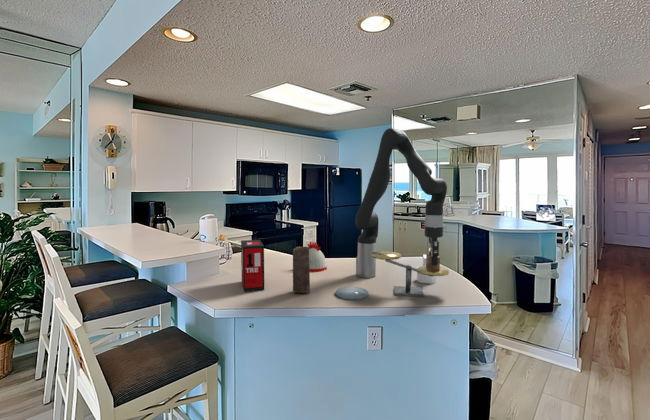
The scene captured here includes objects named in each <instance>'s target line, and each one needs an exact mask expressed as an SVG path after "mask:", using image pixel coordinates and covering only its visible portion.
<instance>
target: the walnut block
mask: <svg viewBox="0 0 650 420" xmlns="http://www.w3.org/2000/svg"><path fill="white" fill-rule="evenodd" d="M425 255H426V269H427V271H439V272H440V267H441V266H440V263H441V256H440V255H439V256H438V257H437V266H433V265H432V256H431V255H429V254H425Z"/></svg>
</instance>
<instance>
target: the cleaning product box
mask: <svg viewBox="0 0 650 420" xmlns="http://www.w3.org/2000/svg"><path fill="white" fill-rule="evenodd" d="M240 251H241V252H240V253H241V255H240V257H241V258H240V259H241V261H240V262H241V284H242V291H243V293H247V292H248V293H249V292H250V293H251V292H258V291H261V292H262V291H265V245H264V243H263V242H262V241H261V239H248V240H247V239H246V240H245V239H244V240H240Z"/></svg>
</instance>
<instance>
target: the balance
mask: <svg viewBox="0 0 650 420" xmlns="http://www.w3.org/2000/svg"><path fill="white" fill-rule="evenodd" d="M371 257H373V258H376V260H384V261H385V262H387V263H389V264H393V265H396V266H398V267H401V268H404V269H405V286H404V285H403V286H400V285H399V286H398V285H394V286H393V293H394V296H399V297H400V296H403V297H421V298H424V297H425V295H424V291H423V289H422V287H419V286H412V275H413V274H412V272H416V273H417V272H418V273H420V274H423V275H428V276H431V277H432V276H436V277H444V276H448V275H449V271H450V270H449V269H447V268H444V267H441V266H440V272H439V271H427V269H426V266H423V265H422V266H418V267H416V268H415V267H413V266H411V264H405V263H401V262H398V261H395V260H399V259H401V257H402V254H401V253H399V252H395V251H390V250H389V251H386V250H383V251H382V250H381V251H378V250H376V252H372V253H371Z"/></svg>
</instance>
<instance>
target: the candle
mask: <svg viewBox="0 0 650 420" xmlns="http://www.w3.org/2000/svg"><path fill="white" fill-rule="evenodd" d="M310 274H311V272H310V269H309V247H308V246H296V247H295V248H292V291H293V292H295V293H299V294H300V293H302V294H304V293H310V292H311V291H310V290H311V280H310V279H311V278H310V277H311V276H310Z"/></svg>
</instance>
